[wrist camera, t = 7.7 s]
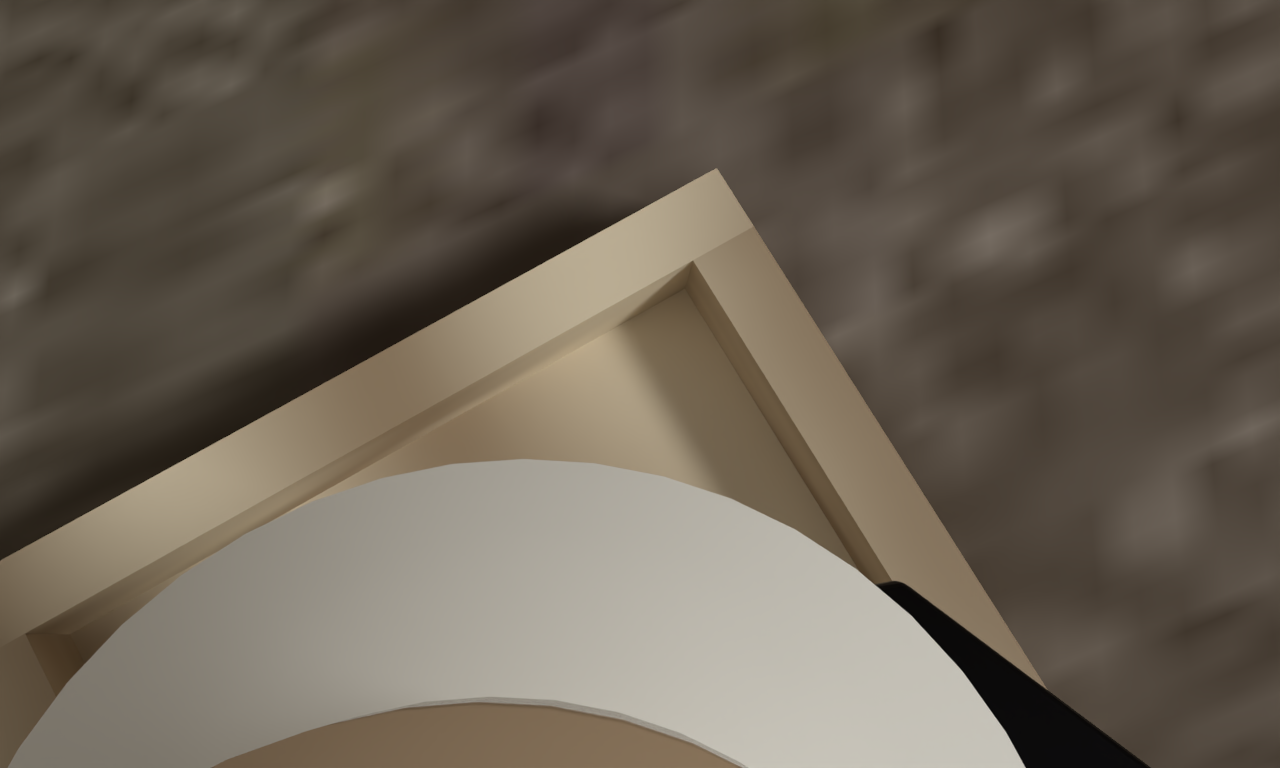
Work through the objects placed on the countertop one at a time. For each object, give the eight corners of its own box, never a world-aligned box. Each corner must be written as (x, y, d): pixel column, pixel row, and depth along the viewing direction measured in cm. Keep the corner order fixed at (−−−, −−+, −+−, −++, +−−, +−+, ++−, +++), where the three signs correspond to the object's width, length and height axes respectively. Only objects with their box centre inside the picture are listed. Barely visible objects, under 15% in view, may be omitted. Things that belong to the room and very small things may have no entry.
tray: (391, 1426, 16) (363, 1537, 14) (-9, 609, 18) (-82, 605, 16) (1138, 909, 17) (1208, 943, 16) (703, 216, 19) (716, 168, 17)
